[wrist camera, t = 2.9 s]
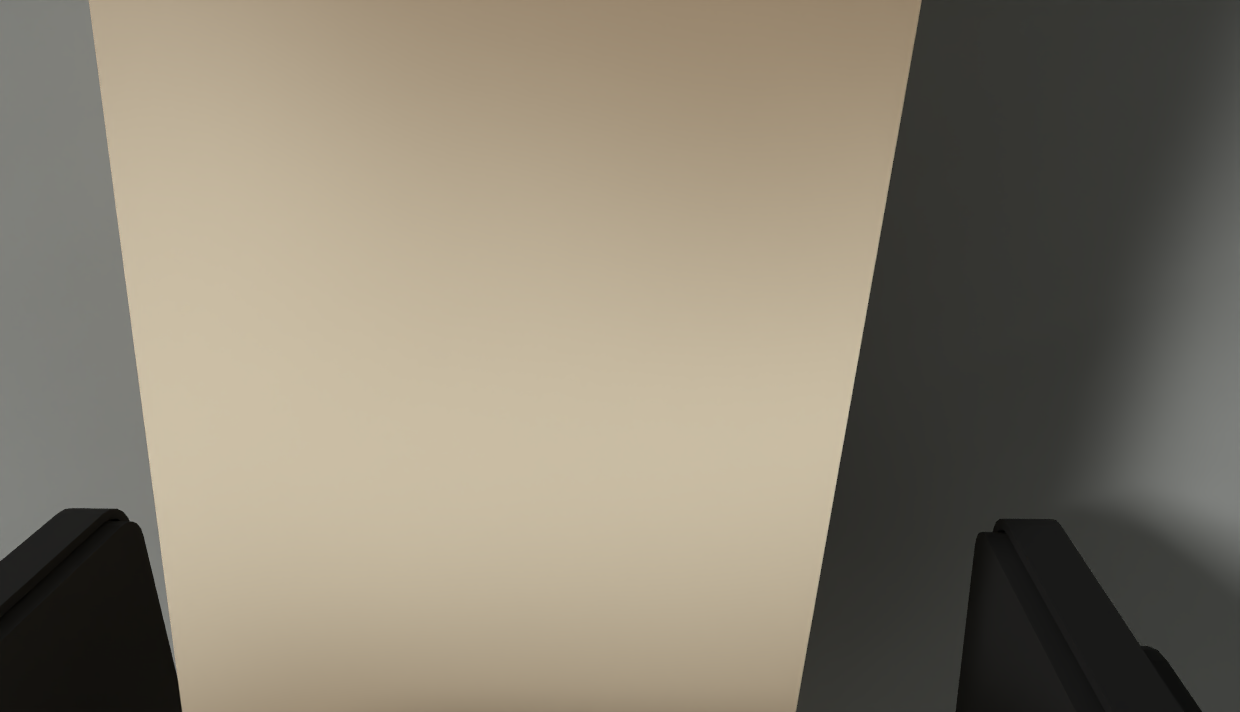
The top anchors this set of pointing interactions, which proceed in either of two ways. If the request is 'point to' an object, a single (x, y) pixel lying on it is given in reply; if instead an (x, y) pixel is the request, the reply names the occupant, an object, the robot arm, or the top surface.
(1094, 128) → the top surface
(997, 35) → the top surface
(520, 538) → the beam
